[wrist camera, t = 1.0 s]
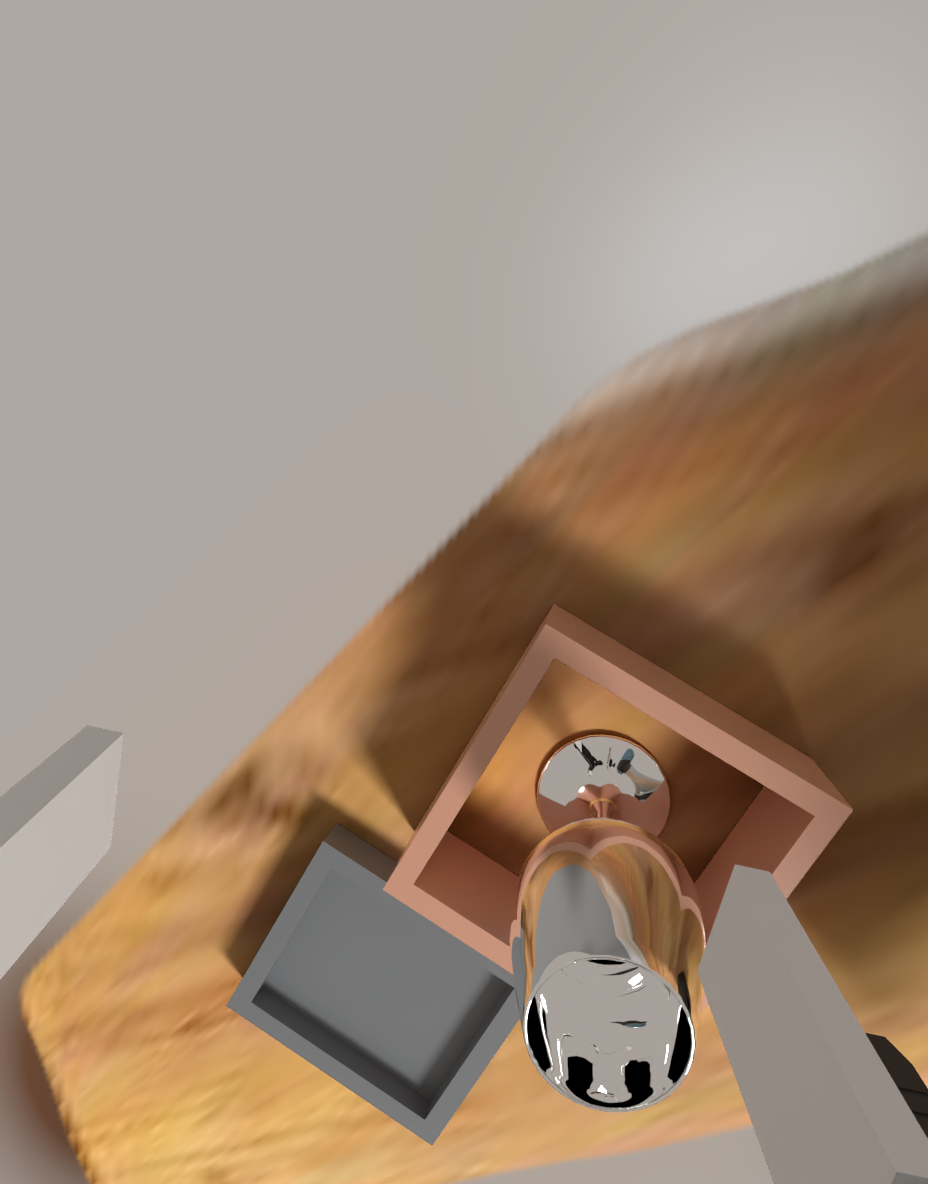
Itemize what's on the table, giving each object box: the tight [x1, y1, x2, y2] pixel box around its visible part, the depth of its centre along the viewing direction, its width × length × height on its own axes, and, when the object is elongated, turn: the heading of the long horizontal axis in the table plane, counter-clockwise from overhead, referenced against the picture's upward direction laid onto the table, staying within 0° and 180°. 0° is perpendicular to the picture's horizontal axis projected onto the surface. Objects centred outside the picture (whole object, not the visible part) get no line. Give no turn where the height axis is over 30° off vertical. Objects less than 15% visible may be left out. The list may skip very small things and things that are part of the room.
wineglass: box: [509, 734, 706, 1112], centre depth 34 cm, size 8×8×20 cm
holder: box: [383, 604, 853, 1013], centre depth 41 cm, size 16×16×7 cm
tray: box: [227, 823, 520, 1145], centre depth 47 cm, size 15×13×2 cm
